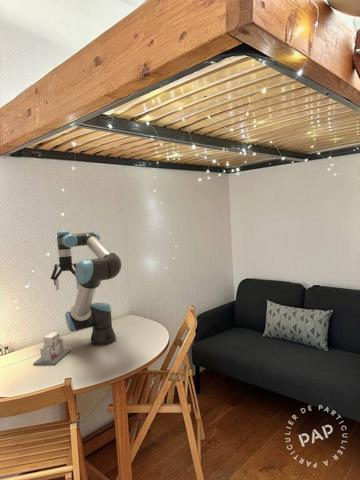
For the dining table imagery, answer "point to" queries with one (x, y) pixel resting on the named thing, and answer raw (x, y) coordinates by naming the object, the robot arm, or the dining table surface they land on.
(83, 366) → the dining table surface
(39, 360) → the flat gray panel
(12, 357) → the dining table surface
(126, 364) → the dining table surface
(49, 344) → the ink box
